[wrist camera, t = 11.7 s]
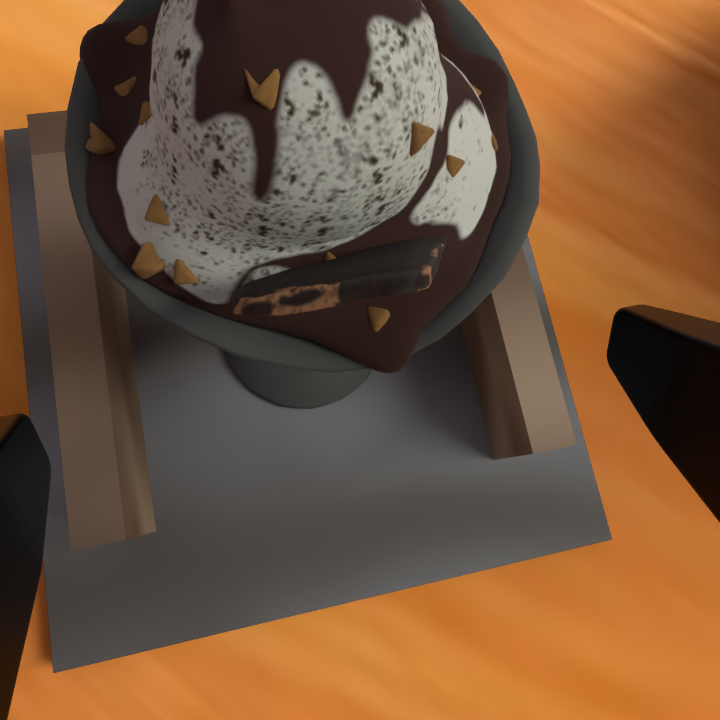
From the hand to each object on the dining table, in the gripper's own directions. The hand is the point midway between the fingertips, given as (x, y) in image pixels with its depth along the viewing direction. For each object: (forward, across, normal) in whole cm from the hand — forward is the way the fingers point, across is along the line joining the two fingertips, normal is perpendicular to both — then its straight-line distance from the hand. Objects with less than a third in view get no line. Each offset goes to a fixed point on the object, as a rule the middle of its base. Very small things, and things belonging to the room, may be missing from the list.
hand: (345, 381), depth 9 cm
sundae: (+9, 0, +4) cm, 9 cm away
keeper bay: (+9, 0, +4) cm, 10 cm away
